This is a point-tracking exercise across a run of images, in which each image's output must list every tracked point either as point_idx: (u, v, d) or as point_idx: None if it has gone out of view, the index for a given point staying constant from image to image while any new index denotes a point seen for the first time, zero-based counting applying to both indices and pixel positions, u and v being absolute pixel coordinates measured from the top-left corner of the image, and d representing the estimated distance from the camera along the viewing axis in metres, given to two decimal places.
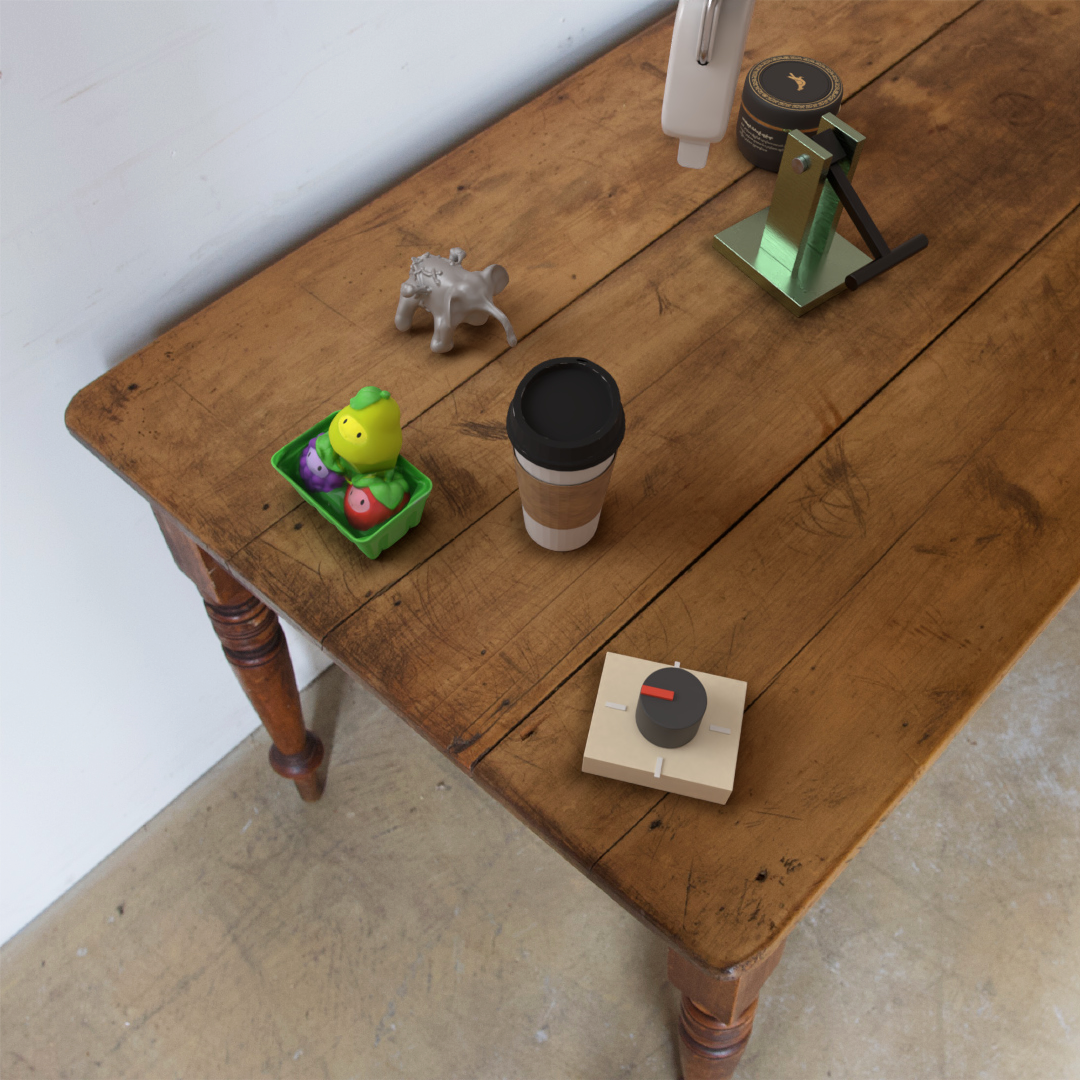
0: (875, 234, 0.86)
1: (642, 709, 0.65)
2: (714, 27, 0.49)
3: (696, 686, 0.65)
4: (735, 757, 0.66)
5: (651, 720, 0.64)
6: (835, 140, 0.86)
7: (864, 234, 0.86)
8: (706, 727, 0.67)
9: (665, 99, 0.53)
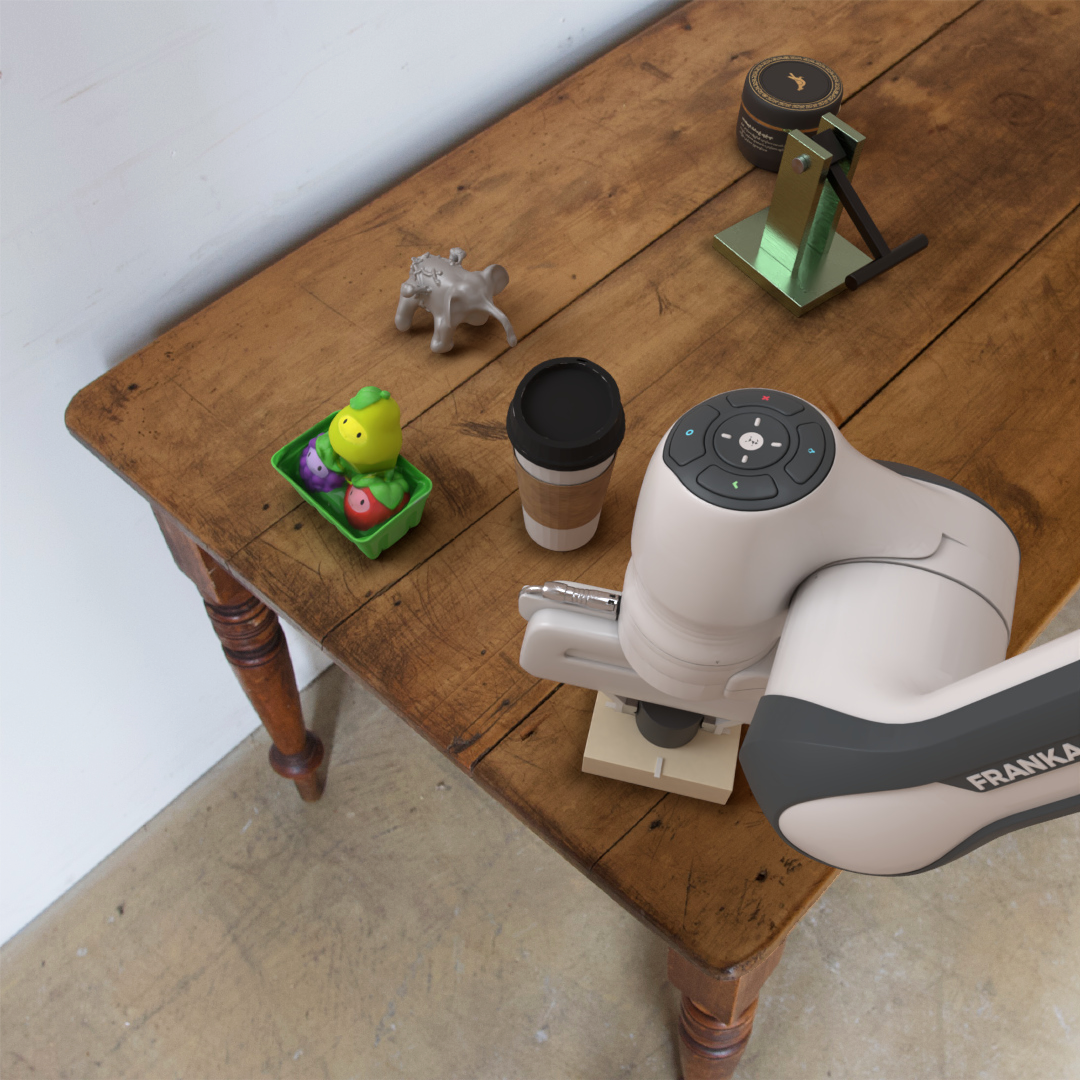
0: (875, 234, 0.86)
1: (642, 709, 0.65)
2: (518, 602, 0.58)
3: None
4: (735, 757, 0.66)
5: (651, 720, 0.64)
6: (835, 140, 0.86)
7: (864, 234, 0.86)
8: None
9: None
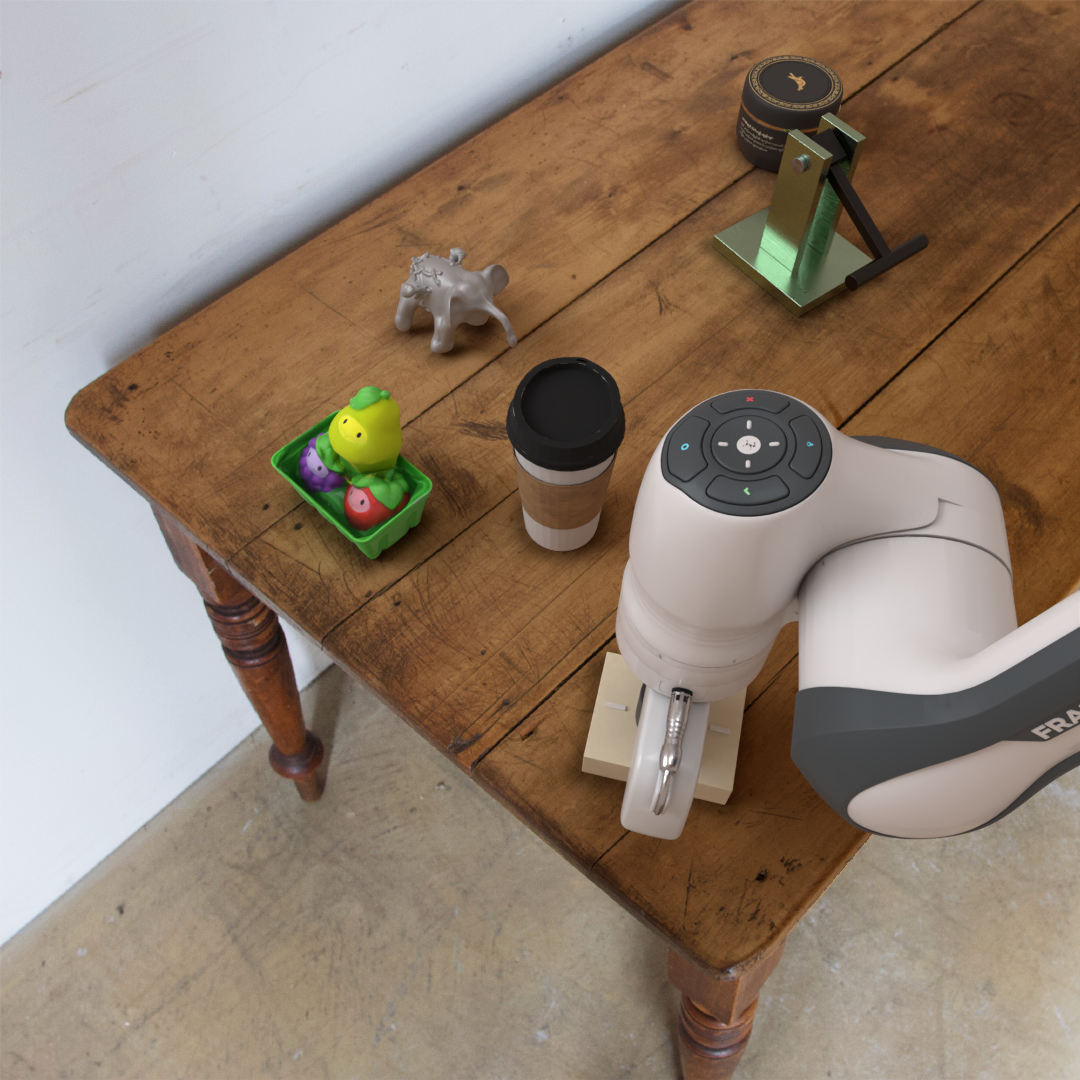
0: (875, 234, 0.86)
1: None
2: (666, 807, 0.52)
3: None
4: (735, 757, 0.66)
5: None
6: (835, 140, 0.86)
7: (864, 234, 0.86)
8: None
9: (623, 816, 0.56)
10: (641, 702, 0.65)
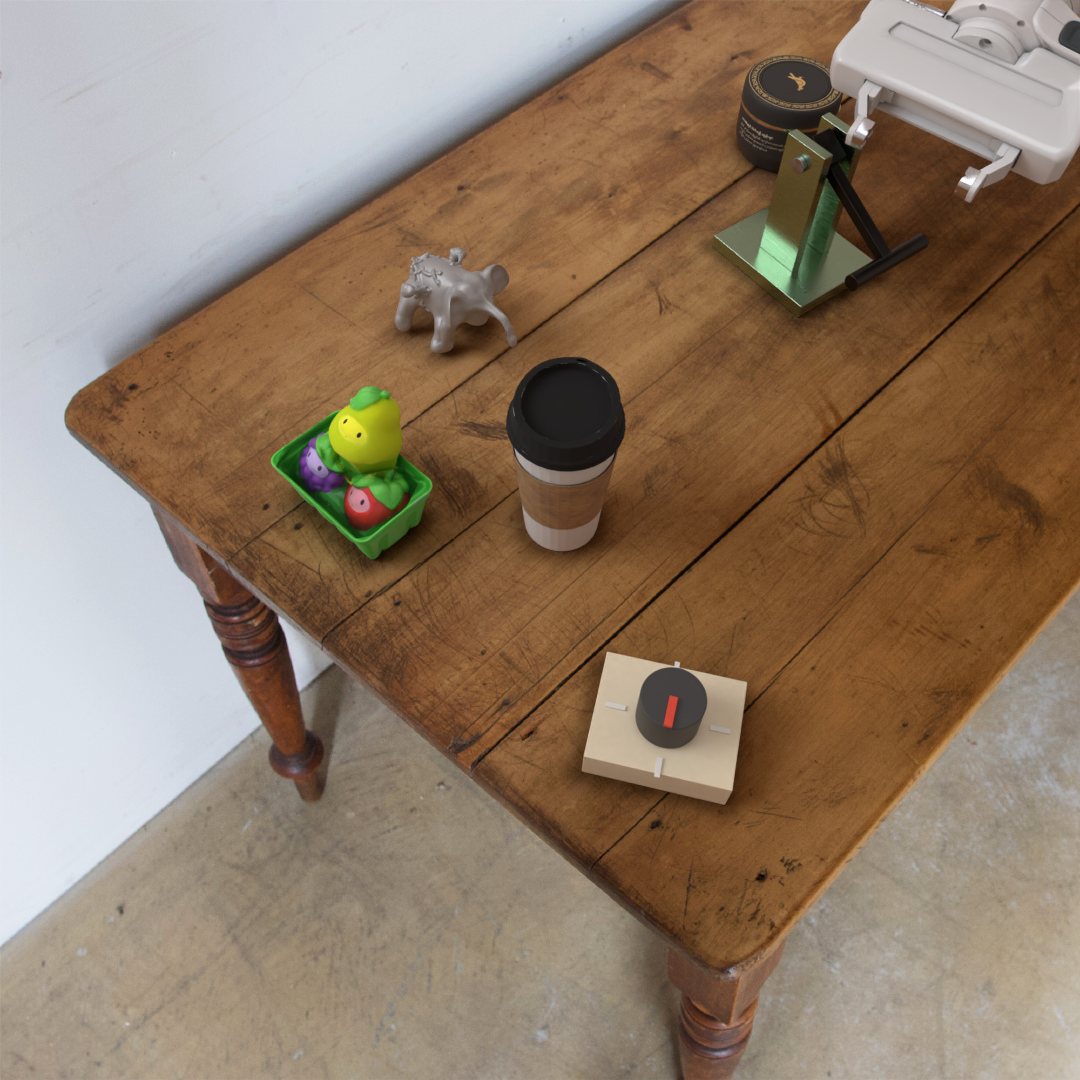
0: (875, 234, 0.86)
1: (686, 729, 0.64)
2: None
3: (660, 675, 0.66)
4: (735, 757, 0.66)
5: (699, 720, 0.64)
6: (835, 140, 0.86)
7: (864, 234, 0.86)
8: (706, 727, 0.67)
9: None
10: (641, 702, 0.65)
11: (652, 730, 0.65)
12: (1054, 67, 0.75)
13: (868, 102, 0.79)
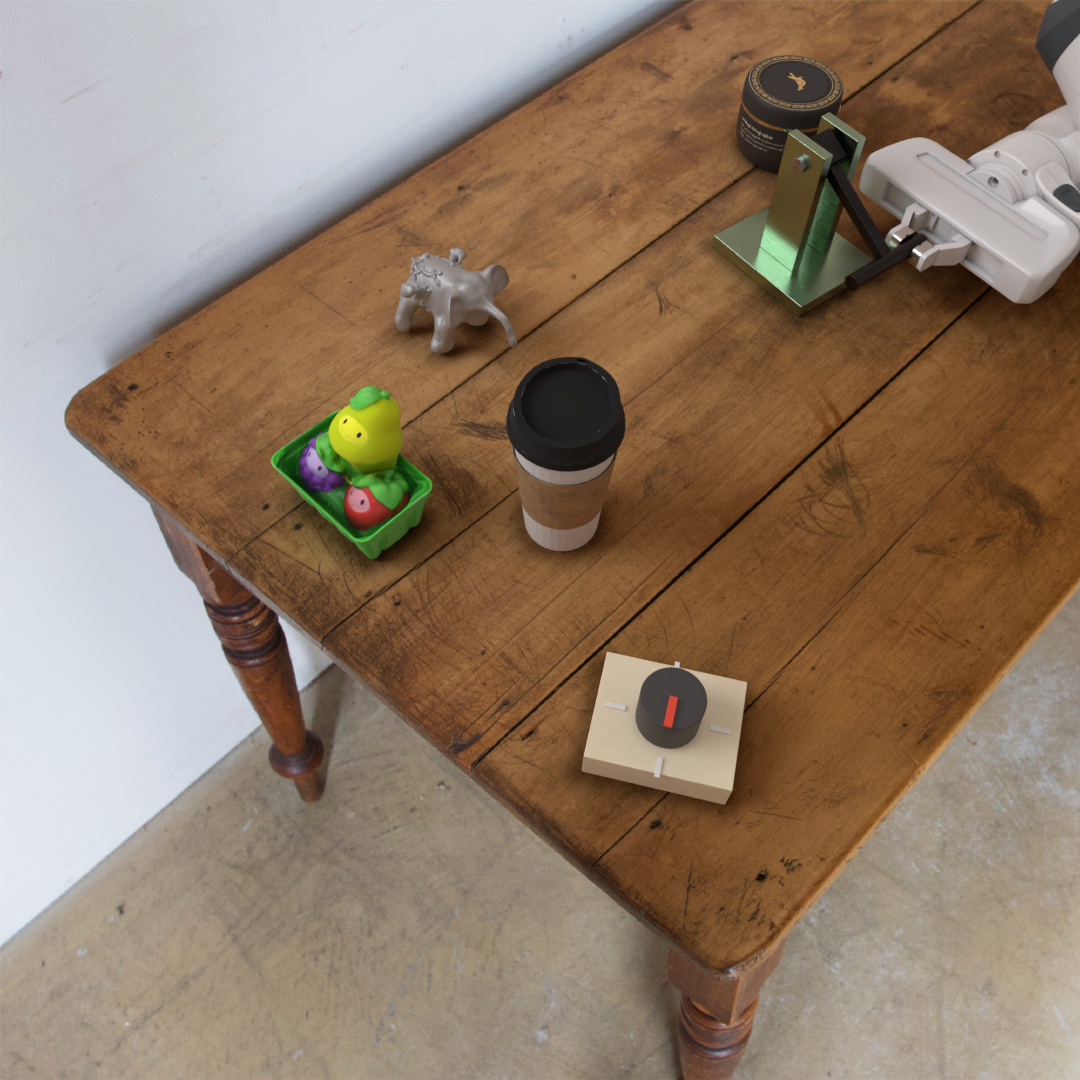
0: (875, 234, 0.86)
1: (686, 729, 0.64)
2: None
3: (660, 675, 0.66)
4: (735, 757, 0.66)
5: (699, 720, 0.64)
6: (835, 140, 0.86)
7: (864, 234, 0.86)
8: (706, 727, 0.67)
9: None
10: (641, 702, 0.65)
11: (652, 730, 0.65)
12: (1044, 212, 0.86)
13: (912, 219, 0.89)
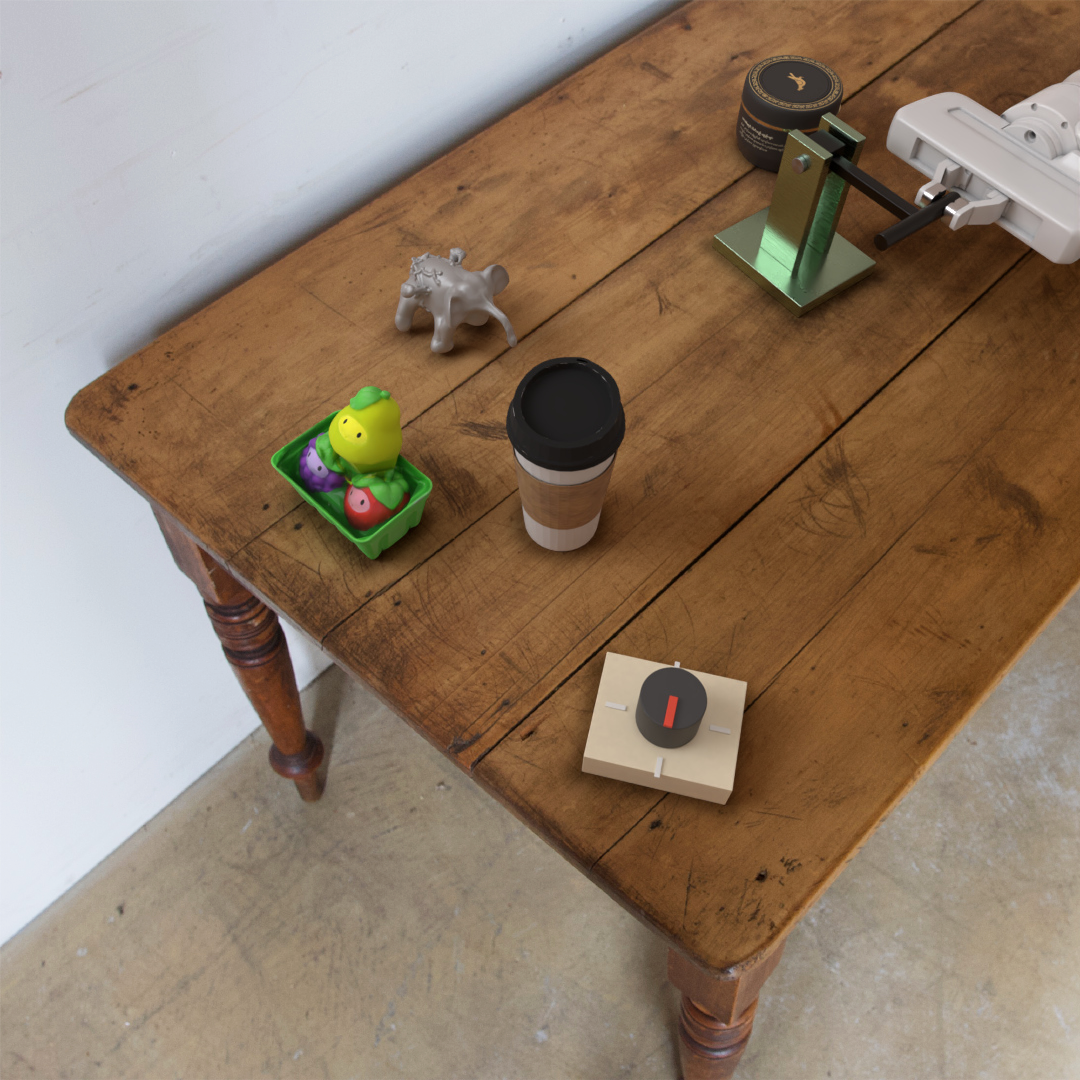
0: (897, 199, 0.82)
1: (686, 729, 0.64)
2: None
3: (660, 675, 0.66)
4: (735, 757, 0.66)
5: (699, 720, 0.64)
6: (830, 136, 0.86)
7: (885, 204, 0.83)
8: (706, 727, 0.67)
9: None
10: (641, 702, 0.65)
11: (652, 730, 0.65)
12: None
13: (944, 176, 0.84)
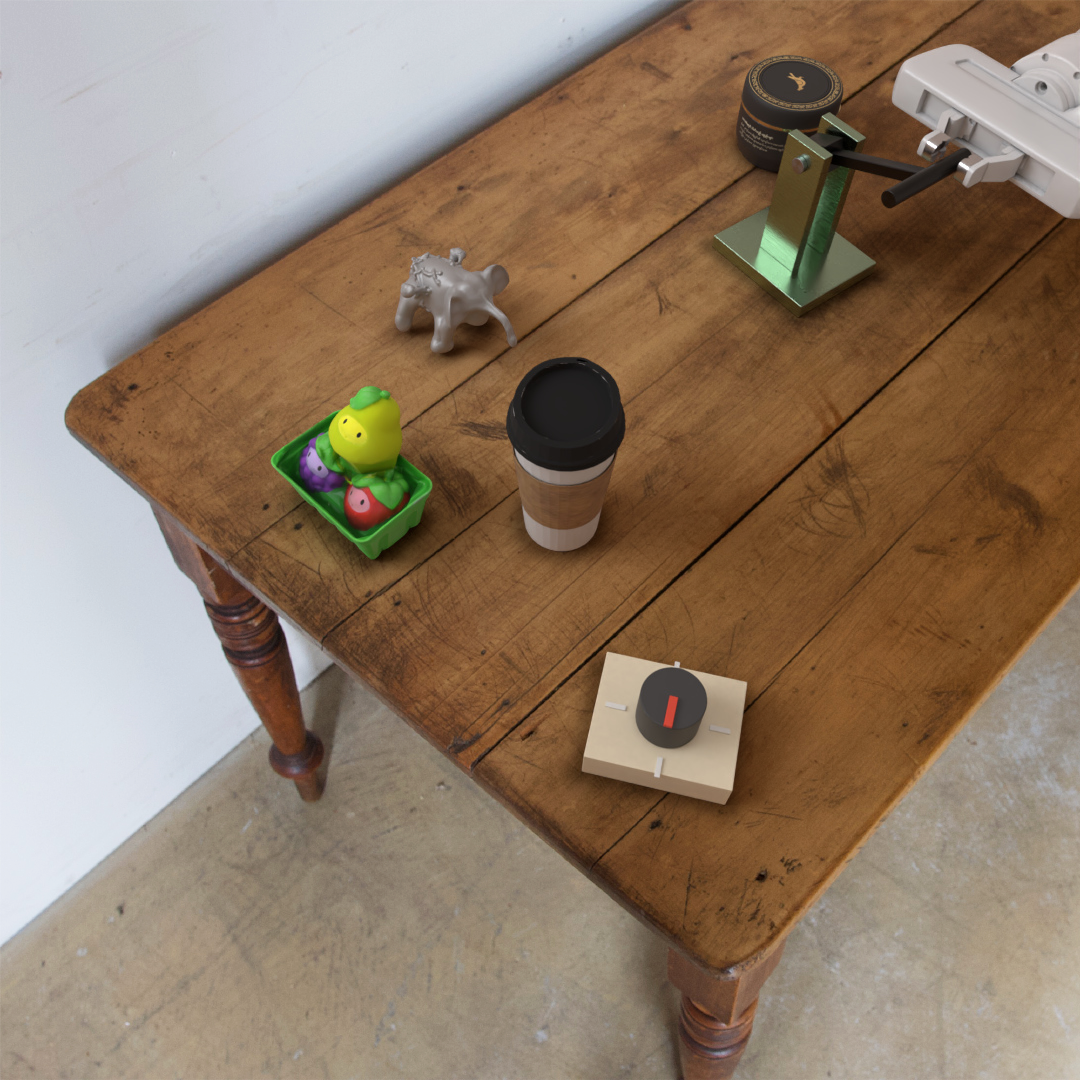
0: (901, 165, 0.80)
1: (686, 729, 0.64)
2: None
3: (660, 675, 0.66)
4: (735, 757, 0.66)
5: (699, 720, 0.64)
6: (826, 135, 0.86)
7: (891, 173, 0.81)
8: (706, 727, 0.67)
9: None
10: (641, 702, 0.65)
11: (652, 730, 0.65)
12: None
13: (948, 126, 0.81)
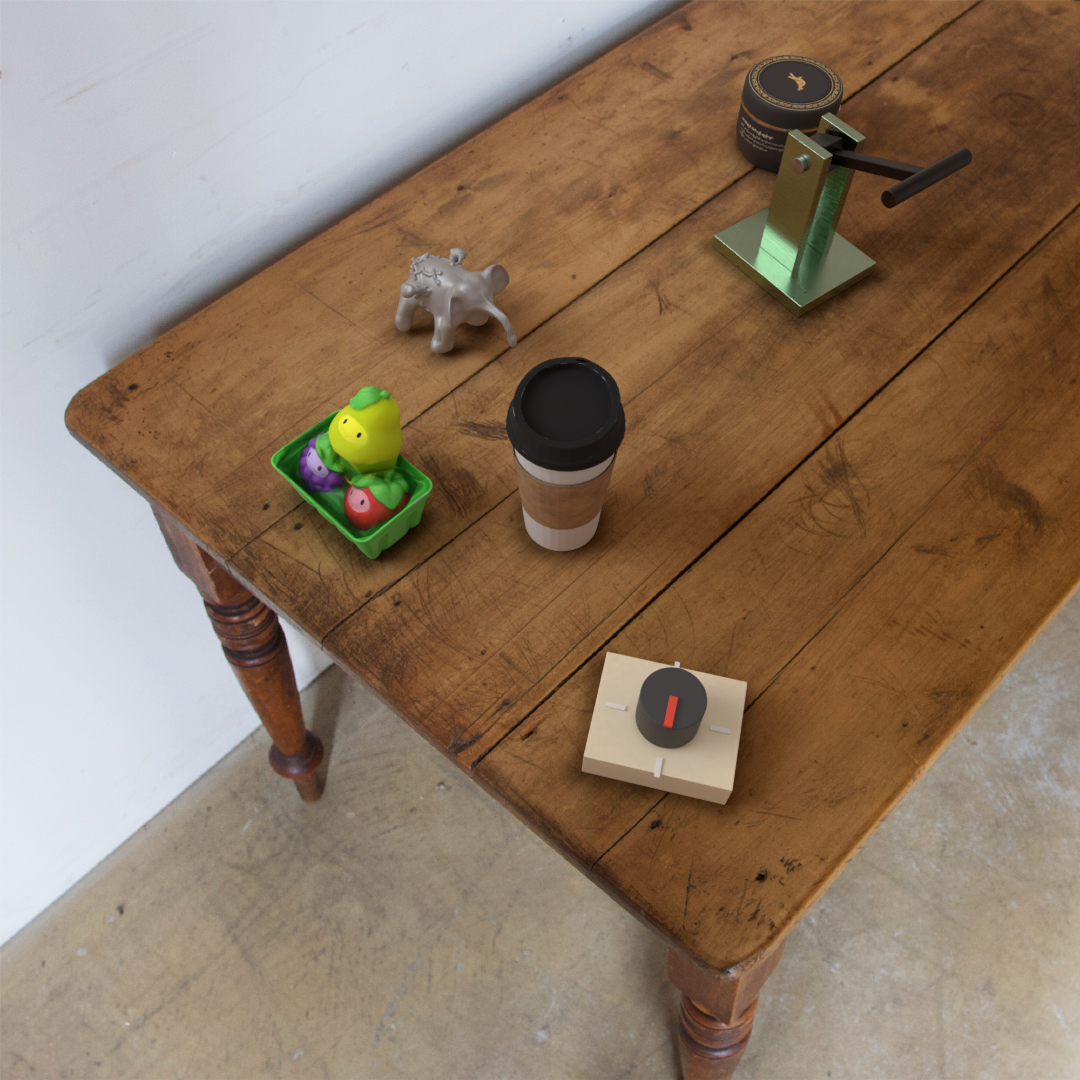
0: (901, 165, 0.80)
1: (686, 729, 0.64)
2: None
3: (660, 675, 0.66)
4: (735, 757, 0.66)
5: (699, 720, 0.64)
6: (826, 135, 0.86)
7: (891, 173, 0.81)
8: (706, 727, 0.67)
9: None
10: (641, 702, 0.65)
11: (652, 730, 0.65)
12: None
13: None
